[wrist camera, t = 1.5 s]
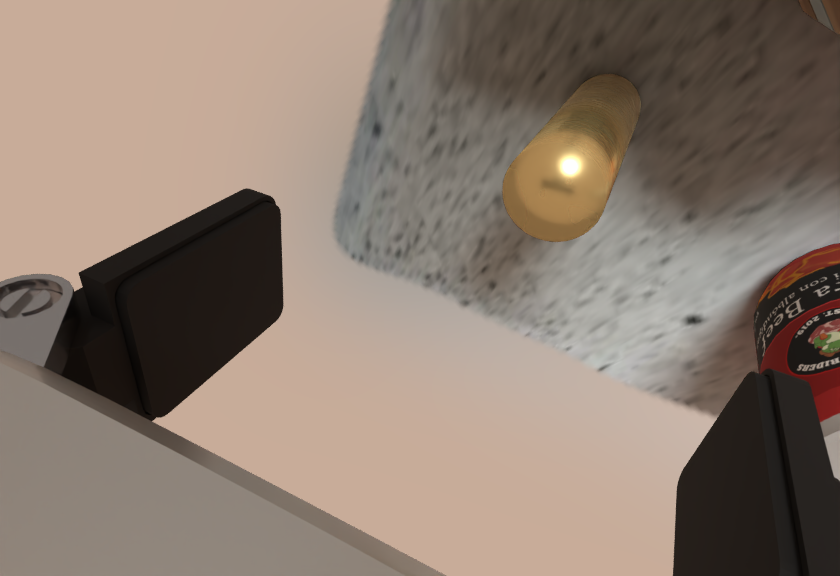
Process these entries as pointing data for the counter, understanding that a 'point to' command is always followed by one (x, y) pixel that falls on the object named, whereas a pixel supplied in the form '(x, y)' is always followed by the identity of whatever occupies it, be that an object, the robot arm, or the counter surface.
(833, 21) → the hinge leaf fixed
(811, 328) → the canned food
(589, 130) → the hinge pin
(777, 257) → the counter surface
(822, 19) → the hinge leaf swing
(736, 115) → the counter surface
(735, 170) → the counter surface
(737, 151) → the counter surface
